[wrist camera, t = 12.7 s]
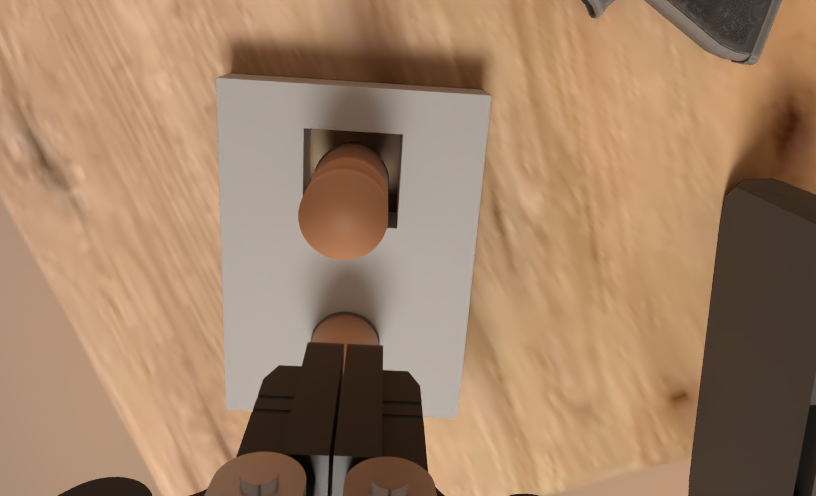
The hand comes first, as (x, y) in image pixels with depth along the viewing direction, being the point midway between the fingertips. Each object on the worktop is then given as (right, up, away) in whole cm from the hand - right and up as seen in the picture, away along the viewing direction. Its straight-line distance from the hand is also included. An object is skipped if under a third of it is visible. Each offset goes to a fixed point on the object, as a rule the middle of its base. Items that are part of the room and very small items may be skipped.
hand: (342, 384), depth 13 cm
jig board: (-2, +3, +23) cm, 24 cm away
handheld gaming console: (+21, -4, +27) cm, 34 cm away
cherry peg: (-2, +7, +22) cm, 23 cm away
